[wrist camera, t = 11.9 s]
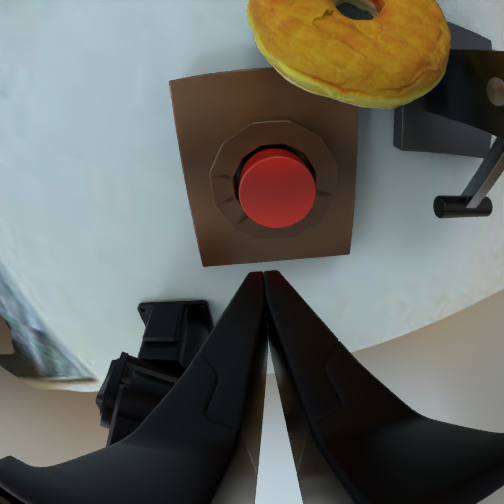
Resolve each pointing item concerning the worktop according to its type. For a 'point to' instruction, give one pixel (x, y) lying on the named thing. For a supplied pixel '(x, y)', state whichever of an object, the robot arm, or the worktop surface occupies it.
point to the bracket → (457, 102)
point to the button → (276, 188)
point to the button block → (251, 142)
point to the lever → (474, 188)
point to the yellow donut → (355, 48)
